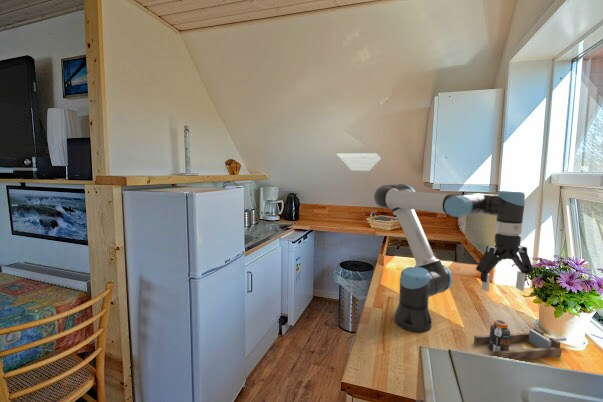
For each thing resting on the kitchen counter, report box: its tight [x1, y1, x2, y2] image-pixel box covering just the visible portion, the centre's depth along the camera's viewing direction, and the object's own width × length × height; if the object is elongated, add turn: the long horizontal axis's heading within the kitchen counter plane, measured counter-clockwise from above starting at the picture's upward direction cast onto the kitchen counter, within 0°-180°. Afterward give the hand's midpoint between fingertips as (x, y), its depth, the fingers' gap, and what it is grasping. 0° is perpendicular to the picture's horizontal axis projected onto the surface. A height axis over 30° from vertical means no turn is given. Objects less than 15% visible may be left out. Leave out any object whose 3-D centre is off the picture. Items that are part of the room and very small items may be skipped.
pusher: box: [527, 328, 568, 348], centre depth 105 cm, size 11×7×5 cm, turn 96°
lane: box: [473, 327, 563, 361], centre depth 103 cm, size 25×10×5 cm, turn 96°
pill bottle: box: [488, 319, 511, 353], centre depth 102 cm, size 6×6×11 cm
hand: (502, 289), depth 103 cm, fingers open, 13 cm apart
